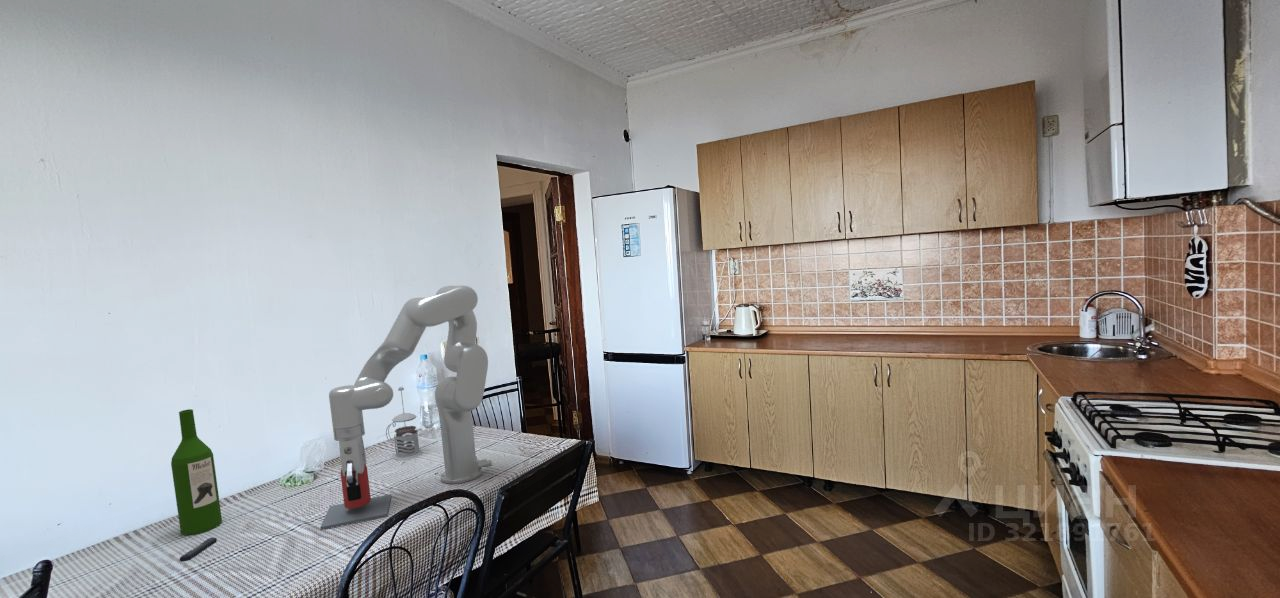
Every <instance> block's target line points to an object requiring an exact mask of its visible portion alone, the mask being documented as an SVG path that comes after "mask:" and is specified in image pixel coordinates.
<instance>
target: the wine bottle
mask: <svg viewBox="0 0 1280 598" xmlns="http://www.w3.org/2000/svg"><path fill="white" fill-rule="evenodd" d="M178 416H179V422H180V423H179V425H180V434H181V441H180V443H179V444H178V446H177V448H176V450H175V452H174V454H173V455H172V457H171V461H170V462H171V463H170V465H171V472H172V473H171V474H172V479H173V487H174V495H175V499H176V500H175V501H176V508H177V516H178V523H179V531H180V533H181V534H182V535H184V536H193V535H199V534H203V533H205V532H209V531H211V530H213V529H216V528H217V527H219V526H220V525H221V524H222V522H223V519H222V512H221V511H222V510H221V503H220V495H219V489H218V482H217V481H218V480H217V474H216V466H215V458H214V453H213V451H212V449H211V448H210V446H208V445H207V444H205V443H204V442H203V441H202V440H201V439H200V438H199V437H198V435H197V428H196V422H195V416H194V409H190V408H188V409H183V410H180V411H179V412H178Z"/></svg>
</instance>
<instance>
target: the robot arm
mask: <svg viewBox="0 0 1280 598" xmlns="http://www.w3.org/2000/svg"><path fill="white" fill-rule="evenodd" d="M478 300H479V299H478V294H477V292H476V291H475V290H474V288H472V287H470V286H468V285H446V286H442V287H440V288H439V289H438V290H437V291H436V293H435V295H432V296H428V297H413V298H410V299H408V300H407V301H406V302H405V303H404V304H403V306H402V307H401V310H400V312H399V314H398V315H397V318H396V319H395V321H394V322H393V324H392V327H391V328H390V330H389V332H388V334H387V336H386V337H385V339H384V341H383V342H382V343H381V344H380V346H379V347H378V348H377V349H376V350H375V351H374V353H373V354H372V355H371V356H369V358H368V360H367V361H366V362H365V364H364V366H363V367H362V369H361V371H360V373H359V374H358V377H357V378H356V380H355V382H354V384H353V385H351V384H348V385H343V386H337V387H334V388H333V389H330V392H328V399H329V400H328V401H329V408H330V415H331V424H332V432H333V440H334V441H335V442H339V443H338V444H339V455H340V456H339V458H340V464H341V468H342V472H343V476H345V477H346V482H347V495H348V501H353V500H358V499H361V489H360V484H359V481H358V473H360V474H362V473H363V472H364V465H365V464H366V465H367V456H366V451H365V449H366V448H365V444H364V439H363V436H364V435H366V431H365V430H366V429H365V423H364V415H363V411H365V410H374V409H376V410H377V409H381V408H384V407H386V406H387V405H389V404H390V403H391V402H392V400H393V397H394V390H393V388H392V387H391V385H390V384H389V383H387V382H385V381H386V379H387V377H388V376H389V375H390V372H391V371H392V370H393V369H394V368H395V367H396V366H397V365H398V364H400V363H401V362H403V361H404V360H406V359H408V358H409V357H410V356H412V355H413V353H414V352H415V350H416V348H417V345H418V344H419V342H420V340H421V338H422V336H423V334H424V333H425V330H426V329H427V327H428V328H430V327H436V326H438V325H442V324H445V323H447V322H448V330H447V331H448V333H447V340H446V346H445V351H444V357H443V359H444V360H443V361H444V362H443V363H444V366H445V368H446V369H447V370H449V371H451V372H453V373H456V376H447V377H445V378H443V379H441V380H440V381H439V382H438V383H437V384H436V387H435V390H434V399H435V404H436V408H437V410H438V411H437V412H438V415H439V423H440V435H441V445H442V456H443V462H444V464H443V465H444V471H443V472H442V473H441V474H440V481H441V482H442V483H445V484H462V483H467V482H469V481H473V480H475V479H477V478H479V477H480V476H481V475H482V474H483V468H485V467H486V468H487V467H492V466H493V465H492V459H489V460H488V459H487V458H484V459H478V457H477V455H476V444H475V435H474V433H475V432H474V425H473V423H474V422H473V417H472V411H475V410H476V409H477V408H478V407H479V405H480V404H481V403H482V400H483V397H484V393H485V386H486V382H487V375H488V374H487V373H488V367H489V359H488V358H489V357H488V355H487V351H486V349H484V348H483V347H482V346H481V345H478V344H477V343H476V340H477V332H478V323H477V318H476V315H475V312H474V310H475V308H476V306H477V305H478ZM353 471H356V473H354V474H353ZM345 472H346V473H345ZM353 476H355V478H356V479H355V478H353Z"/></svg>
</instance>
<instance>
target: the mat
mask: <svg viewBox="0 0 1280 598" xmlns="http://www.w3.org/2000/svg"><path fill="white" fill-rule="evenodd" d="M391 501H392V494H385V495H380V496H375V497H371V501H370V502H369V503H368V504H367V505H366V506H363V507H361V508H357V509H347V508H345V506H344V502H343V503H339V504H334V505H330V506H329V507H328V509H327V512H326V514H325V516H324V518H323V520H322V523H321V525H320V531H323V529H324V530H328V529H327V528H329V529H332V528H331V527H334V528H337V527H336V526H339V527H342V526H341V525H344V526H348V525H353V524H357V523H362V522H366V521H367V522H368V521H372V520H377V519H381V518H387V517H388V515H389V513H390V512H389V511H390V505H391ZM347 524H348V525H347Z"/></svg>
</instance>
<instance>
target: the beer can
mask: <svg viewBox="0 0 1280 598" xmlns="http://www.w3.org/2000/svg"><path fill="white" fill-rule="evenodd" d="M345 473H346V472H345ZM354 473H356V471H353V474H354ZM368 473H369V471H368V467H367V463H366V464H365V465H364V472H363V473H362V474H360V473H358V481H359V484H360V489H361V499H358V500H353V501H348V495H347V482H346V477H345V476H343V472H342V467H341V469H340V482H341V488H342V489H341V490H342V497H343V503H344V506H345V508H347V509H357V508H361V507H363V506H366V505H367V504H368V503H369V502H370V501H371V498H372V496H371V490H370V482H369V474H368ZM353 478H355V476H353ZM355 479H356V478H355Z"/></svg>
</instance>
